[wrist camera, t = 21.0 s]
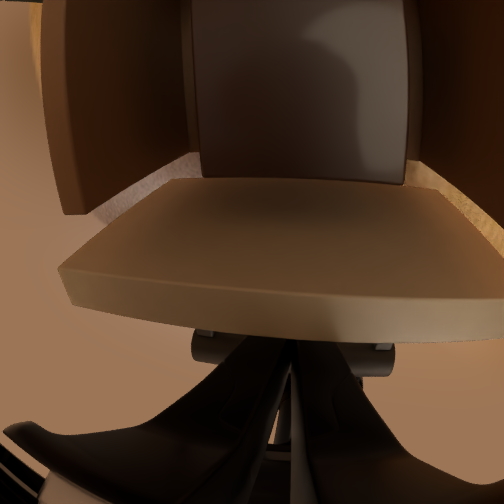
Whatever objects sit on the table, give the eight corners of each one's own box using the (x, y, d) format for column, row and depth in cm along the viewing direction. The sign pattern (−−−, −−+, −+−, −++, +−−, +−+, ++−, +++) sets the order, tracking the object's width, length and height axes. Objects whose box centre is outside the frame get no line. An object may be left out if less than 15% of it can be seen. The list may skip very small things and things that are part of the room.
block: (367, 29, 7) (404, -11, 3) (368, 149, 9) (405, 187, 6) (237, 28, 8) (187, -9, 4) (243, 145, 10) (200, 179, 6)
